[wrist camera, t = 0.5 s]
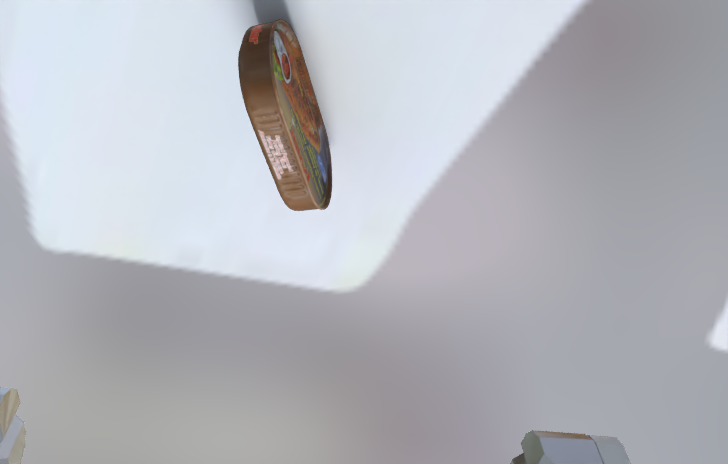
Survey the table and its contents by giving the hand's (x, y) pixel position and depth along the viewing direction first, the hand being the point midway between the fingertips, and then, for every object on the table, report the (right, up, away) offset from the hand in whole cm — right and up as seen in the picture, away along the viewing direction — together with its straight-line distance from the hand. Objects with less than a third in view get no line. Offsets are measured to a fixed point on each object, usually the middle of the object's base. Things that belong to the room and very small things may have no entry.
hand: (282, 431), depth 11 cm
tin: (-4, +14, +41) cm, 44 cm away
